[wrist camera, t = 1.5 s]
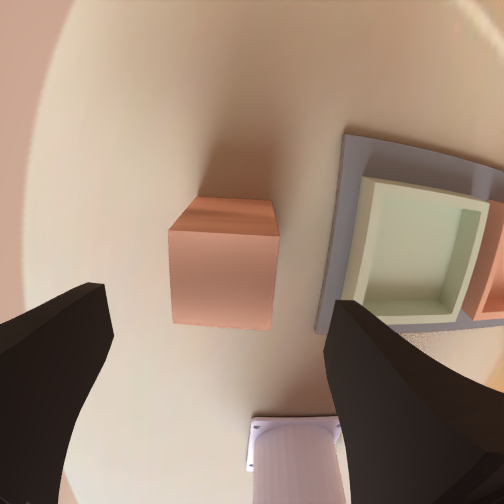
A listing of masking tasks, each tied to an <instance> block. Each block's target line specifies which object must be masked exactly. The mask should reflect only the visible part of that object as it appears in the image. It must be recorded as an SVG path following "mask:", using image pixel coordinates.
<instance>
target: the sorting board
mask: <svg viewBox="0 0 504 504" xmlns="http://www.w3.org/2000/svg"><path fill="white" fill-rule="evenodd" d="M335 300H355V301H356V302H358V303H359V304H361V305H362V306H363V307H365V308H366V309H367V310H369V311H370V312H371V313H372V314H374V315H375V316H376V317H377V318H379V319H380V320H381V321H382V322H384V323H385V324H386V325H387V326H389V327H390V328H391V329H392V330H394V331H395V332H396V333H418V332H435V331H450V330H463V329H474V328H484V327H494V326H502V325H504V172H503V171H501V170H497V169H494V168H491V167H488V166H485V165H482V164H479V163H475V162H472V161H468V160H465V159H461V158H458V157H454V156H450V155H447V154H443V153H439V152H435V151H431V150H426V149H422V148H418V147H413V146H409V145H404V144H399V143H394V142H389V141H384V140H379V139H373V138H368V137H362V136H355V135H349V134H343V137H342V148H341V158H340V167H339V176H338V185H337V193H336V201H335V209H334V216H333V224H332V231H331V237H330V244H329V250H328V257H327V263H326V269H325V275H324V281H323V286H322V292H321V297H320V303H319V308H318V313H317V318H316V324H315V328H314V329H315V333H316V334H328V330H329V326H330V322H331V318H332V313H333V309H334V304H335Z"/></svg>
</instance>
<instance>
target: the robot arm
mask: <svg viewBox="0 0 504 504" xmlns="http://www.w3.org/2000/svg"><path fill="white" fill-rule="evenodd" d="M113 338H114V333H113V328H112V323H111V318H110V313H109V308H108V303H107V297H106V291H105V285H104V284H99V283H90V282H88V283H85V284H82V285H80V286H77V287H75V288H73V289H71V290H69V291H67V292H65V293H63V294H61V295H59V296H57V297H55V298H53V299H51V300H49V301H47V302H45V303H44V304H42V305H40V306H38V307H36V308H34V309H32V310H30V311H28V312H25V313H24V314H22V315H19V316H17V317H15V318H14V319H11V320H9V321H7V322H4V323H2V324H0V504H58V495H59V488H60V482H61V476H62V470H63V466H64V461H65V457H66V453H67V449H68V445H69V442H70V438H71V435H72V432H73V429H74V426H75V422H76V420H77V418H78V415H79V413H80V410H81V408H82V406H83V404H84V402H85V400H86V398H87V396H88V394H89V392H90V390H91V388H92V386H93V384H94V382H95V380H96V378H97V376H98V374H99V372H100V371H101V369H102V367H103V365H104V363H105V361H106V358H107V355H108V352H109V350H110V347H111V344H112V341H113ZM323 353H324V360H325V368H326V374H327V380H328V383H329V387H330V390H331V394H332V398H333V401H334V405H335V408H336V412H337V415H338V416H329V417H298V418H277V417H255V418H253V419H252V420H251V426H250V435H249V445H248V454H247V462H246V470H247V471H250V472H253V504H346V500H345V494H344V489H343V484H342V479H341V474H340V469H339V464H338V459H337V454H336V449H335V445H336V443H337V441H338V438H339V436H340V434H341V432H342V433H343V438H344V442H345V447H346V454H347V462H348V470H349V480H350V491H351V504H504V393H502V392H499V391H496V390H494V389H491V388H489V387H486V386H484V385H481V384H479V383H477V382H475V381H473V380H471V379H469V378H467V377H464V376H462V375H460V374H459V373H457V372H455V371H453V370H451V369H449V368H448V367H446V366H444V365H443V364H441V363H439V362H437V361H436V360H434V359H433V358H431V357H429V356H428V355H426V354H425V353H423V352H422V351H421V350H419V349H418V348H416V347H415V346H414V345H412V344H411V343H409V342H408V341H407V340H405V339H404V338H403V337H401V336H400V335H399V334H397V333H396V332H395V331H394V330H392V329H391V328H390V327H389V326H387V325H386V324H385V323H384V322H382V321H381V320H380V319H379V318H377V317H376V316H375V315H374V314H372V313H371V312H370V311H369V310H367V309H366V308H365V307H363V306H362V305H361V304H359V303H358V302H356V301H355V300H335V304H334V309H333V313H332V318H331V322H330V326H329V330H328V334H327V339H326V343H325V347H324V351H323Z"/></svg>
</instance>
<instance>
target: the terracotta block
mask: <svg viewBox="0 0 504 504" xmlns="http://www.w3.org/2000/svg"><path fill="white" fill-rule="evenodd" d="M279 242H280V235H279V231H278V227H277V222H276V218H275V214H274V210H273V206H272V202H271V201H266V200H251V199H234V198H214V197H196V198H195V199H194V201H193V202H192V203H191V204H190V205H189V206H188V207H187V209H186V210H185V211H184V212H183V213H182V214H181V216H180V217H179V218H178V219H177V220H176V222H175V223H174V224H173V225H172V226H171V228H170V229H169V230H168V244H169V269H170V287H171V303H172V317H173V323H176V324H186V325H198V326H210V327H223V328H238V329H255V330H270V326H271V317H272V309H273V299H274V290H275V281H276V271H277V262H278V252H279Z"/></svg>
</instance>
